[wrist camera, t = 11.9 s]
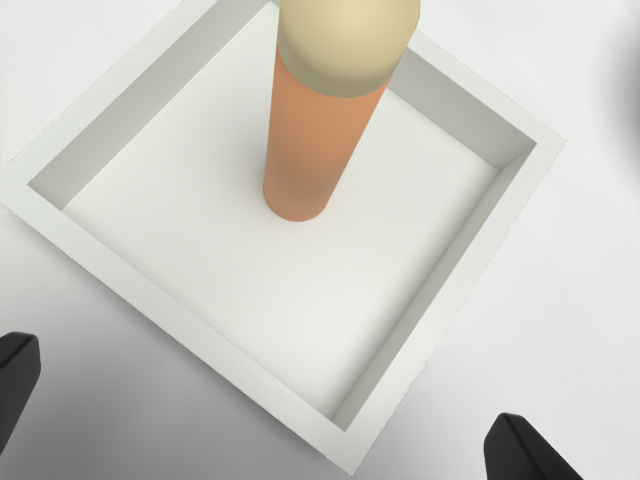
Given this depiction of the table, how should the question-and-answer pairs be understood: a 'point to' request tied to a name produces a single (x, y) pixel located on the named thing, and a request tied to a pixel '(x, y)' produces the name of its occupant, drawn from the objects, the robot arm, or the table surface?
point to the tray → (275, 232)
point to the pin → (327, 93)
